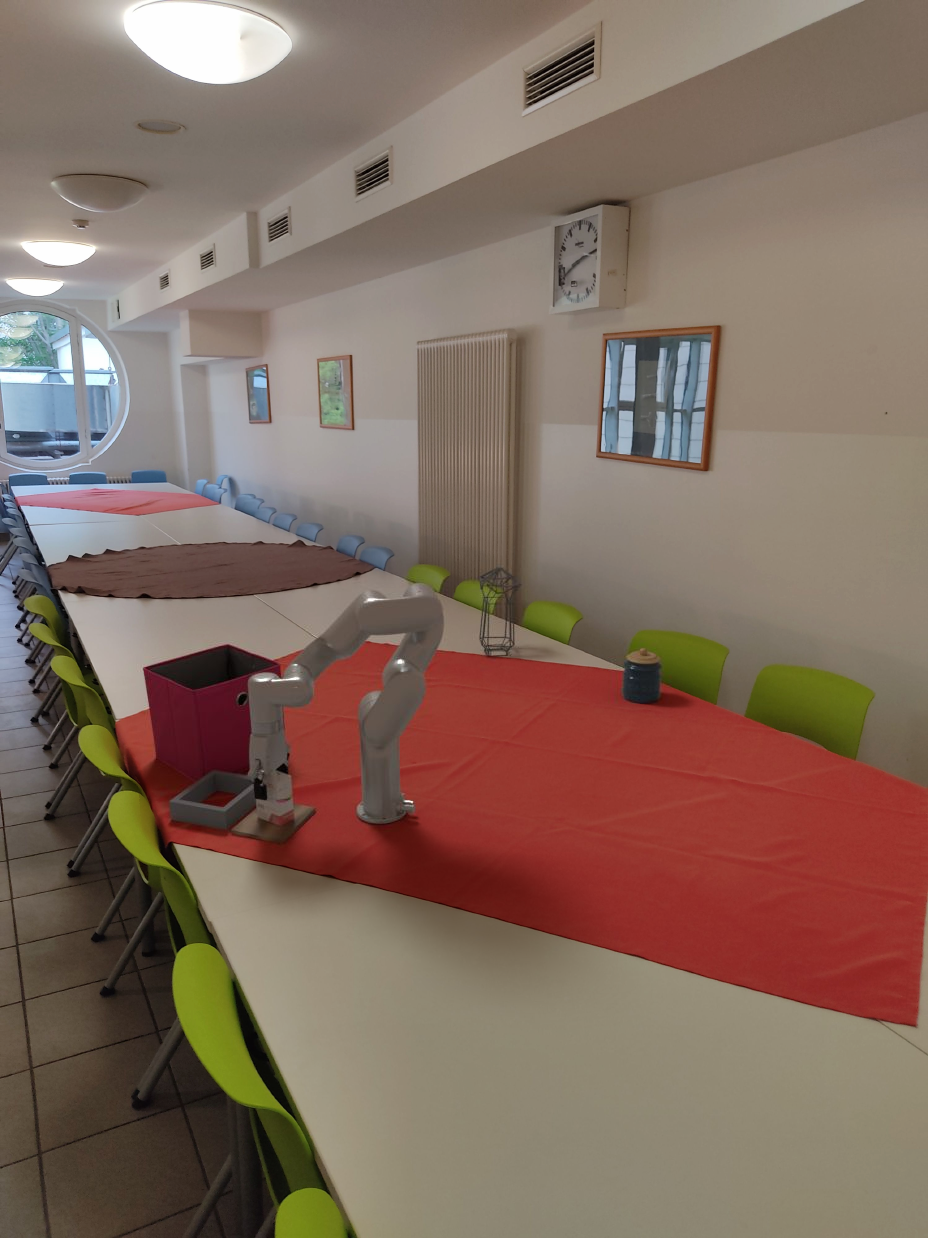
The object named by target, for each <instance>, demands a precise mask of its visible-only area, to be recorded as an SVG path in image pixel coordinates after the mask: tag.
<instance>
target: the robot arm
mask: <svg viewBox="0 0 928 1238" xmlns="http://www.w3.org/2000/svg"><path fill="white" fill-rule="evenodd" d="M444 625H445V617H444V609H443V605H442V602H441V600H440V599H439V597H438V595H437V593H436V592H435V589H433V588H432V587H431V586H430V585H428V584H427V583H424V582H423V583H422V582H416V583H413V584H411V585H410V586H408V587H407V588H406V590H405V591H404V593H403V595H402V597H395V598H393V597H391V598H387V597H386V596H385V595H384V594H383V593H382V592H380V591H378V590H375V589H368V590H364V591H363V592H361V593H360V594H359V595H358V596H357V597H355V598H354V600H352V602H351V603H350V604H349V605H348V606H347V607H346V608H345V609H344V610H343V612H342V613H341V614H339V616H338V617H337V618H336V619H335V620H334V621H333V622H332V623H331V624H330V626H329V627H327V629H325V631H324V632H323V633H321V634H320V635H318V636H317V637H316V638H315V639H314V640H312V641H311V642H310V643H309V644H307V646H305V648H303V649H302V651H301V652H300V653H298V655H296V657H295V658H294V659H293V660H292V661H291V662H290V663H289V665H288V666H287V667H286V668H285V669H284V671H283V673H282V676H281V679H280V678H279V677H278V675H276V674H274V673H258V674H255V675H253V676H251V677H250V678H249V680H248V696H249V708H250V720H251V732H252V734H251V737H250V746H249V762H250V769H249V771H248V773H247V776H248V777H249V779H250V782H251V783H252V785H254V796H255V799H260V800H267V785H266V784H265V781H266V777H267V775H269V774H270V773H272V770H277V771H279V772H282V773H285V774H287V775H289V767H288V766H289V763H290V762H289V758H290V757H291V754H290V750H291V744H290V743H287V738H286V731H285V732H284V725H285V724H284V725H283V712H284V709H283V710H282V707H283V708H294V709H297V708H298V709H299V708H300V709H301V708H304V707H305V706H308V705H309V704H310V703H311V702H312V701H313V699H314V696H315V695H314V694H315V686H314V685H315V682H316V680H317V679H318V678H319V677H320V676H321V675H322V674H323V672H325V671H326V670H327V669H328V668H329V667H330V666H331V665H332V664H334V663H335V662H337V661H339V660H344V659H345V660H346V659H348V658H351V657H352V656H353V655H354V654H355V653H357V651H358V650H359V649H360V648H361V647H362V645H363V644H364V643H366V641H367V640H369V638H370V637H371V636H392V635H400V634H404V636H403V638H402V639H401V641H400V643H399V645H398V647H397V648H396V650H395V651H394V652H393V654H392V656H391V657H390V659H389V660H388V662H387V664H386V665H385V666H384V668H383V670H382V675H381V676H382V684H383V688H382V690H373V691H371V692H368V693H366V695H365V696H364V697H362V699H361V701H360V703H359V705H358V711H357V714H358V715H357V716H358V717H357V718H358V729H359V744H360V745H359V746H360V771H361V772H360V773H361V776H360V777H361V797H362V799H361V800H362V801H361V802H360V803H358V805H357V807H356V815H357V818H359V819H360V820H362V821H363V822H366V823H369V824H374V825H375V824H376V825H377V824H383V825H384V824H390V823H393V822H396V821H398V820H401V819H402V818H404V816H406V814H407V813H410V814H415V812H416V806H415V801H414V800H406V798H405V793H404V792H401V773H400V772H401V768H400V767H401V765H400V764H401V763H400V762H401V761H400V737H401V736H402V734H403V733H404V731H405V730H406V728H407V727H408V725H409V723H410V722H411V720H412V719H413V717H414V715H415V713H417V711H418V709H419V708H420V706H421V704H422V703H423V700H424V698H425V695H426V689H427V688H426V687H427V684H426V680H425V677H424V675H425V673H426V670H427V668H428V667H429V665H430V663H431V662H432V660H433V657H434V656H435V654H436V652H437V650H438V648H439V646H440V644H441V641H442V638H443V635H444V627H445V626H444ZM260 769H261V771H262V770H263V771H264V772H260ZM259 775H262V779H261V780H260V779H259V778H258V776H259Z"/></svg>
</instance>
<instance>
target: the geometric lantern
mask: <svg viewBox="0 0 928 1238" xmlns="http://www.w3.org/2000/svg"><path fill="white" fill-rule="evenodd" d="M502 573H504V575H505V576H506V577H503V575H502ZM476 579H478V581H479V589H480V590H481V592H482V596H483V597H482V606H481V607H482V608H481V617H480V618H481V619H480V627H479V638H478V639H479V643H480V646H482V647H483V649H484V652H485V655H486V656H487V657H503V656H505V657H506V656H507V657H508V655H509V650H510V649H512V648H513V647H514V646H515V641H516V640H515V602H514V598H515V594H516V593H515V592H518V589H519V588H520V587H521V586H522V584H521V583H520V582H519V581H518V580H517V578H516V577H515V576H514V575H512V574H511V573H509V571H507V570H505V568H504V567H501V566H497V567H495V568H493V569H491V570H489V571H487V572H486V573H483V574H482V575H480V576H477V577H476ZM504 579H506V580H505V581H504ZM492 580H493V582H491V581H492ZM498 580H500V584H498ZM510 580H511V581H512V582H513V584H510V585H505V584H506V583H508V582H509V581H510ZM484 587H488V588H489V591H488V593H487V595H486V596H485V593H484ZM494 587H495V589H494ZM498 588H501V590H502V591H499V592H498ZM505 588H508V589H507V590H505ZM511 590H512V593H511V595H510V597H509V596H508V595H507V592H509V591H511ZM491 591H493V592H494V594H493V596H490V594H491ZM498 594H499V595H501V594H503V595H504V596H496V595H498ZM493 598H495V599H498V598H500V599H501V598H502V599H503V598H505V599H506V603H505V607H506V609H505V625H504V627H505V628H504V636H490V605H500V603H499V602H498V603H493V602H492V603H491V601H492V599H493ZM508 621H509V622H508ZM486 623H487V624H486ZM486 625H487V633H486ZM507 625H509V628H508V630H509V632H508V633H509V635H508V636H509V637H508V636H507V627H508V626H507ZM485 633H486V634H487V635H486V636H485ZM485 639H487V640H485ZM490 639H503V641H502V643H499V644H497V643H495V644H490V643H489V640H490ZM506 639H507V640H508V641H507V642H505V640H506ZM504 642H505V643H504ZM508 643H509V645H507V644H508ZM492 652H504V653H505V654H498V655H497V654H496V655H492Z"/></svg>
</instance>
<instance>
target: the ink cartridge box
mask: <svg viewBox="0 0 928 1238" xmlns="http://www.w3.org/2000/svg"><path fill="white" fill-rule="evenodd" d="M260 772H264V771H263V770H261V769H260ZM258 778H259V779H260V780H261V779H262V775H259V776H258ZM265 784H266V785H267V800H260V799H256V806H255V807H256V808H257V817H258V818H261V819H263V820H266V821H268V822H270V823H273V824H275V825H278V826H282V825H284V824H286V823H288V822H289V821H291V820H293V819H294V808H293V804H294V797H293V796H294V795H293V784H292V775H290V774H288V775H287V774H285V773H282V772H279V771H277V770H276V769H275V770H272V773H270V774H269V775H267V777H266V781H265Z"/></svg>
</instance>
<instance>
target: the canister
mask: <svg viewBox="0 0 928 1238" xmlns="http://www.w3.org/2000/svg"><path fill="white" fill-rule="evenodd" d="M625 658H626V659H625V660H624V661H623V662H622V665H623V667H624V669H623V670H622V687H621V695H622V697H623V699H625V700H627V701H628V702H631V703H638V704H651V703H655V702H658V701H659V700H660V697H661V694H662V693H661V686H662V685H661V684H662V677H663V675H662V673H661V670H662V668H663V665H662V663H661V658H660V656H658V655H657V654H656V653H654V652H651V651H648V649H647V648H645V647H641V648H640V649H639V650H635V651H632V652H631V653H629V654H626V656H625Z"/></svg>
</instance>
